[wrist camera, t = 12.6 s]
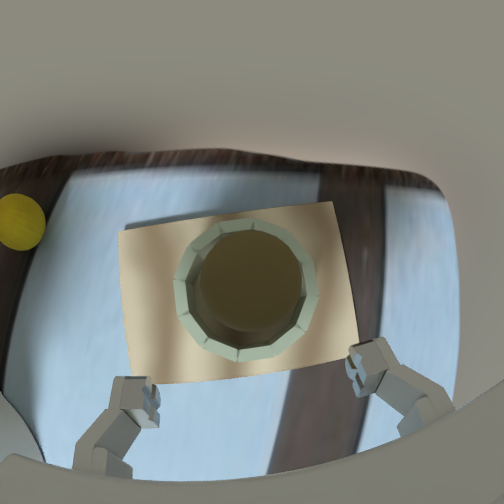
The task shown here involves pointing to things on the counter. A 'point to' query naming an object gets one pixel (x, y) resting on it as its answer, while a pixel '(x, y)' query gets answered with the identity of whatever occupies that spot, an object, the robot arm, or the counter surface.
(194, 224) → the birch board
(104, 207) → the counter surface
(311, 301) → the sage ring
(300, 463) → the counter surface
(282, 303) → the olive rounded peg
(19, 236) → the lemon
